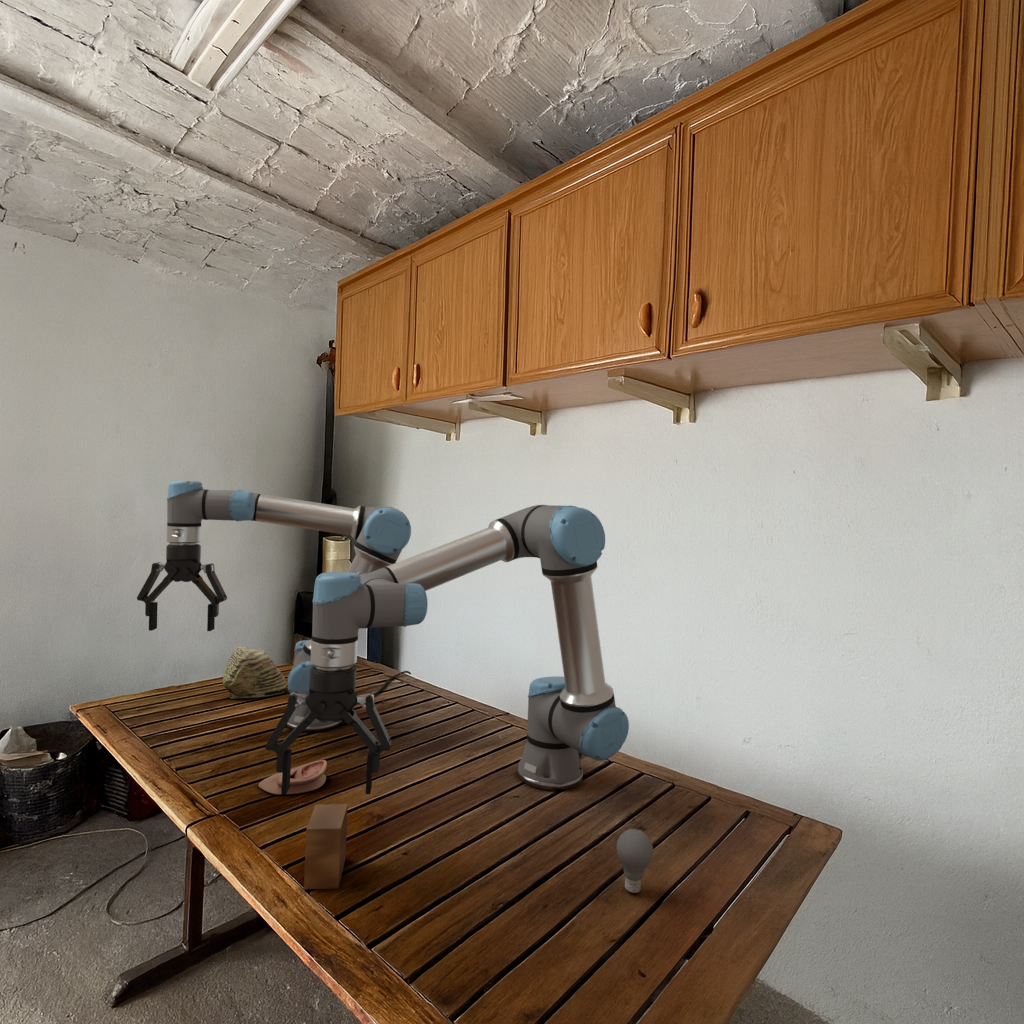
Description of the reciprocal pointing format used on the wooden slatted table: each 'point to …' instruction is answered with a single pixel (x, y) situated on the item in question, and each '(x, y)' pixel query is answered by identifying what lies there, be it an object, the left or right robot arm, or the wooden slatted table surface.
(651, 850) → the light bulb
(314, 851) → the brick
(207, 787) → the wooden slatted table surface
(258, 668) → the fossil
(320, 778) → the anatomical model
